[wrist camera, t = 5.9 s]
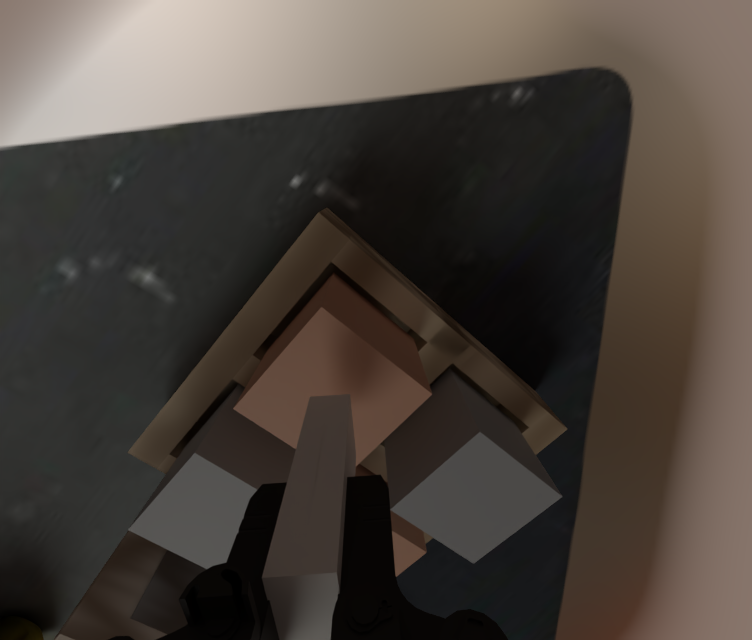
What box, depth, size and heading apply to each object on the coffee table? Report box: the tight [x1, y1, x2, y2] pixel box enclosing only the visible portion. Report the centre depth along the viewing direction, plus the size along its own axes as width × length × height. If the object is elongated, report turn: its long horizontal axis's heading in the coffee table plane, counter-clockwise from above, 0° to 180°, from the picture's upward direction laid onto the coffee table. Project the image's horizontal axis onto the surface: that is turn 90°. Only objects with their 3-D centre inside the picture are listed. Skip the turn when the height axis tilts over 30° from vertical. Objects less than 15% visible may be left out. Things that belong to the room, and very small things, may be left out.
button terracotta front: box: [233, 272, 432, 466], centre depth 18 cm, size 6×6×6 cm
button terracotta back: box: [355, 464, 427, 576], centre depth 25 cm, size 6×6×6 cm
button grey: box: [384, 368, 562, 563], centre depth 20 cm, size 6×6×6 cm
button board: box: [54, 208, 567, 640], centre depth 21 cm, size 20×22×12 cm
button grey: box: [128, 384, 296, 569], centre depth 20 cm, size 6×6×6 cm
